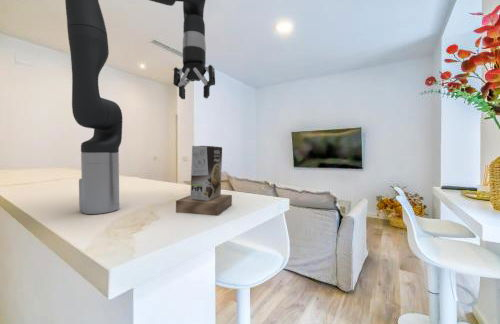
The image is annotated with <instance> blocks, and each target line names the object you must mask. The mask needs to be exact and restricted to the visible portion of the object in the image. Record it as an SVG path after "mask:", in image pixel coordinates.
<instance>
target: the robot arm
mask: <svg viewBox="0 0 500 324" xmlns="http://www.w3.org/2000/svg"><path fill="white" fill-rule="evenodd" d="M149 1H150V2H154V3H159V4H161V5H164V6H168V7H169V6H170V7H172V6H174V5H175V3H176V2H181V3H182V8H183V9H182V12H183V30H182V32H183V33H182V34H183V36H182V37H183V38H182V65H183V66H182V67H181V68H179V67H174V68H173V83H172V84H173V85H174V86H175V87H177V88H178V96H179V98H180V99H181V100H186V87H187V86H188V84H189V83H190V82H200V81H201V82H202V83H203V94H202V95H203V98H204V99H209V97H210V88H211V87H212V86H215V85H216V77H215V76H216V74H215V72H216V71H215V67H214V66H213V65H212V64H209V65H208V66H206V65H207V64H206V62H207V61H206V59H207V57H206V52H207V45H206V27H205V26H206V25H205V24H206V23H205V21H204V11H205V5H206V0H149ZM64 2H65V12H66V13H65V15H66V27H67V36H68V37H67V38H68V45H69V50H70V62H71V63H70V65H71V76H72V77H71V80H72V81H71V85H72V86H71V109H72V110H71V111H72V116H73V119H74V120H75V121H76V123H77V124H78V125H79V126H81V127H84V128H86V129H93V135H92V137H91V138H89V139H88V140H85V141H83V142H81V145H80V152H81V154H80V163H81V166H80V167H81V168H80V170H81V178H78V203H79V204H78V205H79V208H78V209H79V212H81V213H82V214H86V215H87V214H88V215H98V214H106V213H112V212H115V211H118V210H119V209H120V163H119V162H120V159H119V158H120V157H119V156H120V155H119V153H120V152H119V151H120V149H119V148H120V145H122V138H123V112H122V109H121V106H119V105H118V103H117V102H115V101H113V100H110V99H107V98H104V97H101V95H100V88H99V78H100V77H99V76H100V74H101V71H102V69H103V68H104V66H105V64H106V62H107V61H108V58H109V53H110V52H109V40H108V32H107V28H106V23H105V20H104V15H103V12H102V9H101V6H100V5H101V4H100V1H99V0H65V1H64ZM206 73H208V79H207V78H206V77H205V74H206Z"/></svg>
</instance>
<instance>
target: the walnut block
mask: <svg viewBox="0 0 500 324" xmlns="http://www.w3.org/2000/svg"><path fill="white" fill-rule="evenodd" d="M190 197H191V194H190V195H187V196H185V197H182V198H179V199H177V200H175V213H177V214H179V213H180V214H190V215H191V214H193V215H200V216H201V215H203V216H205V215H206V216H214V217H215V216H216V217H217V216H219V215H220V214H223V212H225V211H226V210H228V209H229V208H230V207H231V206H232V205H233V195H232V194H224V193H221V195H220V196H218V197H216V198H214V199H212V200H210V201H203V200H195V199H190Z"/></svg>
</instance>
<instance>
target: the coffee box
mask: <svg viewBox="0 0 500 324" xmlns="http://www.w3.org/2000/svg"><path fill="white" fill-rule="evenodd" d="M222 159H223V147H222V146H215V145H214V146H213V145H212V146H211V145H192V147H191V170H190V171H191V175H190V176H191V178H190V195H191V197H190V199H195V200H203V201H210V200H212V199H214V198H216V197H218V196H220V195H221V194H222V191H221V190H222V164H223V163H222V162H223V161H222Z"/></svg>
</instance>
